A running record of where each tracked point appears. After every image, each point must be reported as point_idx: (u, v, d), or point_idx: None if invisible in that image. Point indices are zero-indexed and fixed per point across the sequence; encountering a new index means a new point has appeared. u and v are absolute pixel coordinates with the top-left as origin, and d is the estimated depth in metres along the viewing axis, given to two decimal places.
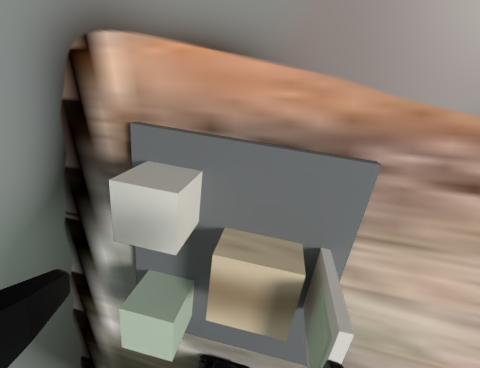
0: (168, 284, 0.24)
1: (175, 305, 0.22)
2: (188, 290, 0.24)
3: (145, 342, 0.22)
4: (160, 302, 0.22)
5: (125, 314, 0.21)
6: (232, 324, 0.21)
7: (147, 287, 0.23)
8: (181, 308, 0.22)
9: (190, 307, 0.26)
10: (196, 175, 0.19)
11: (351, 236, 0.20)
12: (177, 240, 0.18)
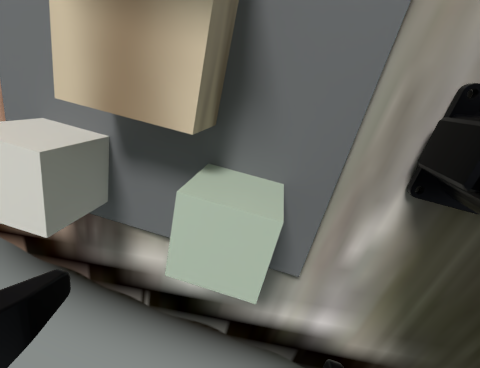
0: None
1: None
2: (202, 171, 0.14)
3: (235, 258, 0.12)
4: None
5: (175, 269, 0.13)
6: (194, 78, 0.10)
7: None
8: (194, 181, 0.13)
9: (253, 179, 0.15)
10: (25, 121, 0.16)
11: None
12: (22, 145, 0.12)
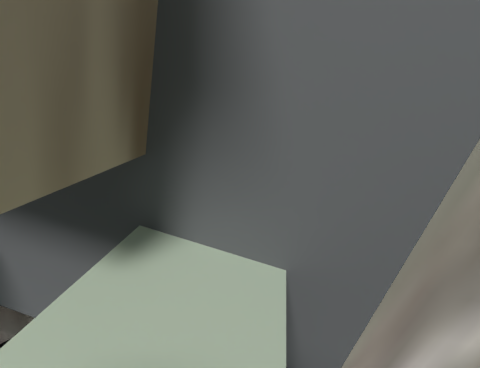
0: None
1: None
2: (113, 252, 0.07)
3: None
4: None
5: None
6: None
7: None
8: (62, 307, 0.05)
9: (222, 265, 0.07)
10: None
11: None
12: None
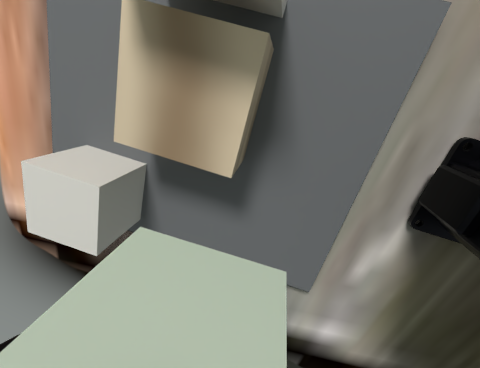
0: None
1: None
2: None
3: None
4: None
5: None
6: (236, 134, 0.12)
7: None
8: (63, 309, 0.05)
9: (223, 267, 0.07)
10: (73, 149, 0.18)
11: None
12: (84, 179, 0.14)
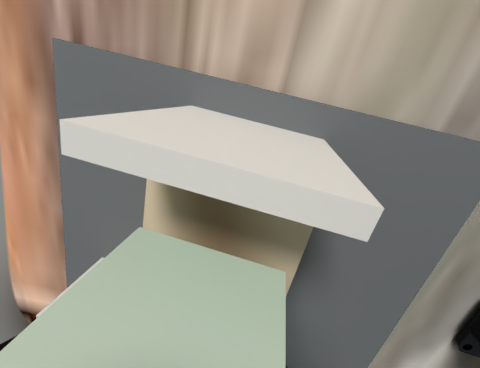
0: None
1: None
2: None
3: None
4: None
5: None
6: None
7: None
8: (61, 309, 0.05)
9: (222, 267, 0.07)
10: (89, 269, 0.16)
11: (164, 71, 0.12)
12: None
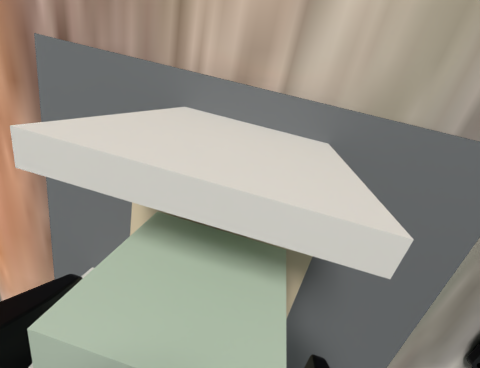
0: None
1: None
2: None
3: None
4: None
5: None
6: None
7: None
8: (102, 271, 0.06)
9: (231, 244, 0.08)
10: None
11: (154, 69, 0.11)
12: None
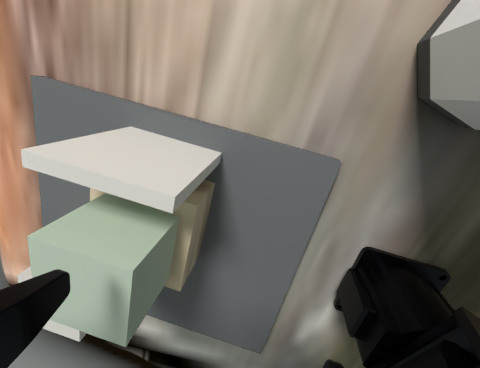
0: None
1: None
2: (89, 203, 0.14)
3: (96, 303, 0.11)
4: None
5: None
6: (181, 264, 0.16)
7: None
8: (65, 219, 0.12)
9: (145, 211, 0.14)
10: None
11: (110, 102, 0.17)
12: None
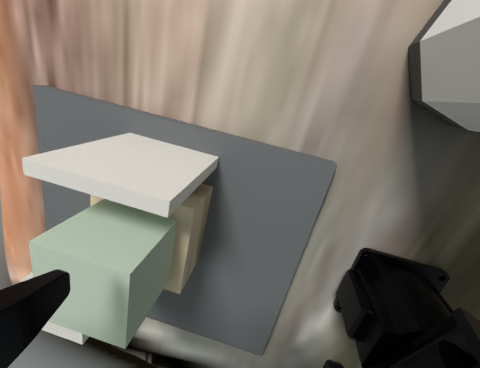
0: None
1: None
2: (89, 208, 0.14)
3: (96, 305, 0.12)
4: None
5: None
6: (180, 267, 0.16)
7: None
8: (65, 224, 0.13)
9: (143, 216, 0.15)
10: None
11: (109, 109, 0.18)
12: None
